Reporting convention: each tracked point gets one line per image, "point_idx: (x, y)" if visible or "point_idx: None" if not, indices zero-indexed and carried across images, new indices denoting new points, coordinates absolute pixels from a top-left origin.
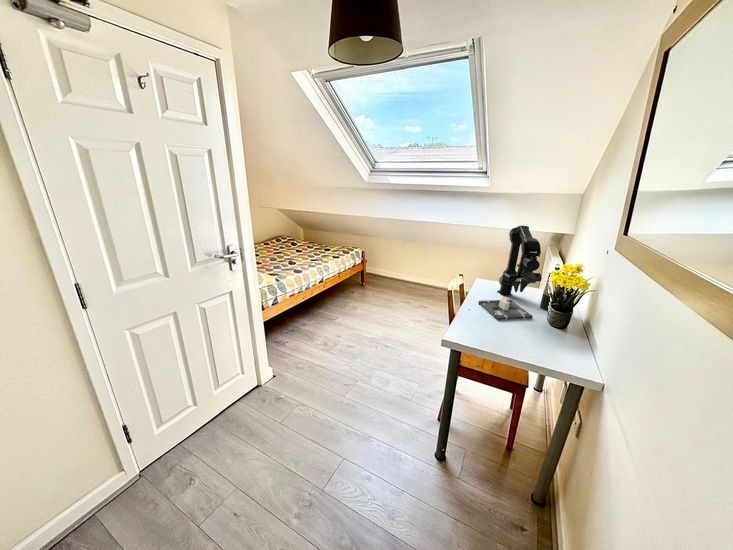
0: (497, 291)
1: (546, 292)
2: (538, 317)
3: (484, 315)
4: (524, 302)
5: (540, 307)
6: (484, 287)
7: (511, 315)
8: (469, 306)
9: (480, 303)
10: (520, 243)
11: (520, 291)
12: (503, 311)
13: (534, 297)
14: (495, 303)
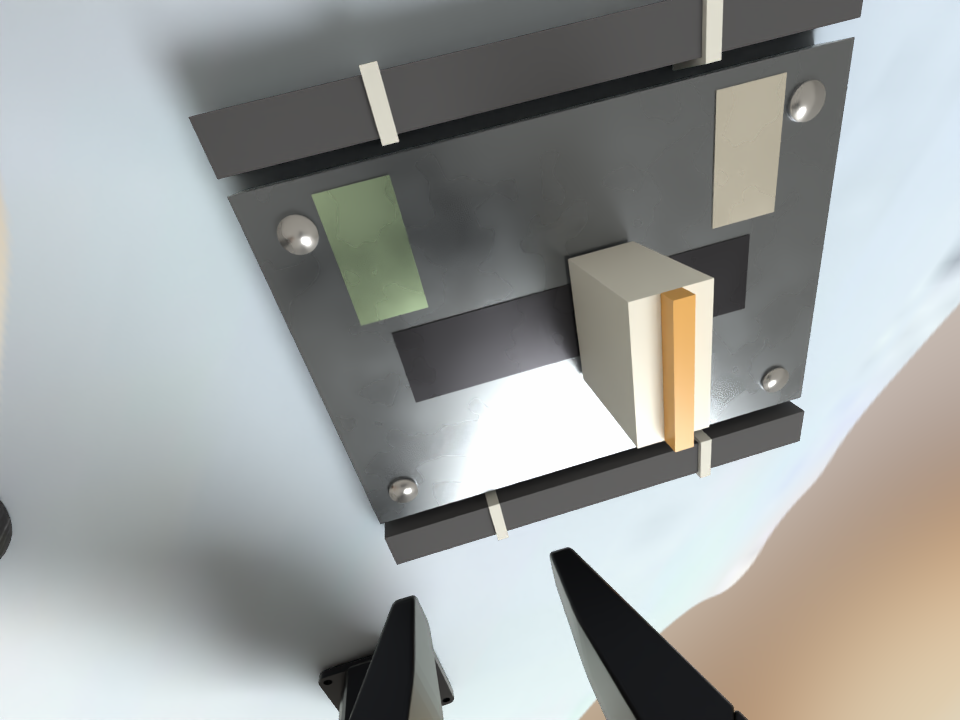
0: (452, 691)
1: None
2: (78, 190)
3: (894, 119)
4: (214, 579)
5: (3, 512)
6: (536, 716)
7: (595, 74)
8: (905, 332)
9: (786, 402)
10: None
11: (424, 625)
12: (646, 217)
13: (60, 713)
14: None
